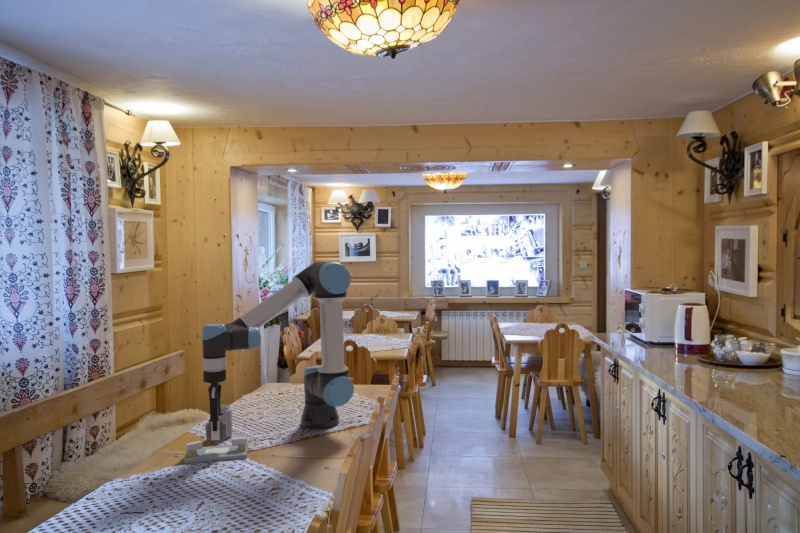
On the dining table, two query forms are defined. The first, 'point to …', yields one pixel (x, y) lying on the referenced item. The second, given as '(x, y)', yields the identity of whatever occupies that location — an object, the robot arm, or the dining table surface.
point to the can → (227, 418)
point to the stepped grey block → (222, 430)
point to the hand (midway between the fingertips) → (216, 437)
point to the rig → (216, 451)
